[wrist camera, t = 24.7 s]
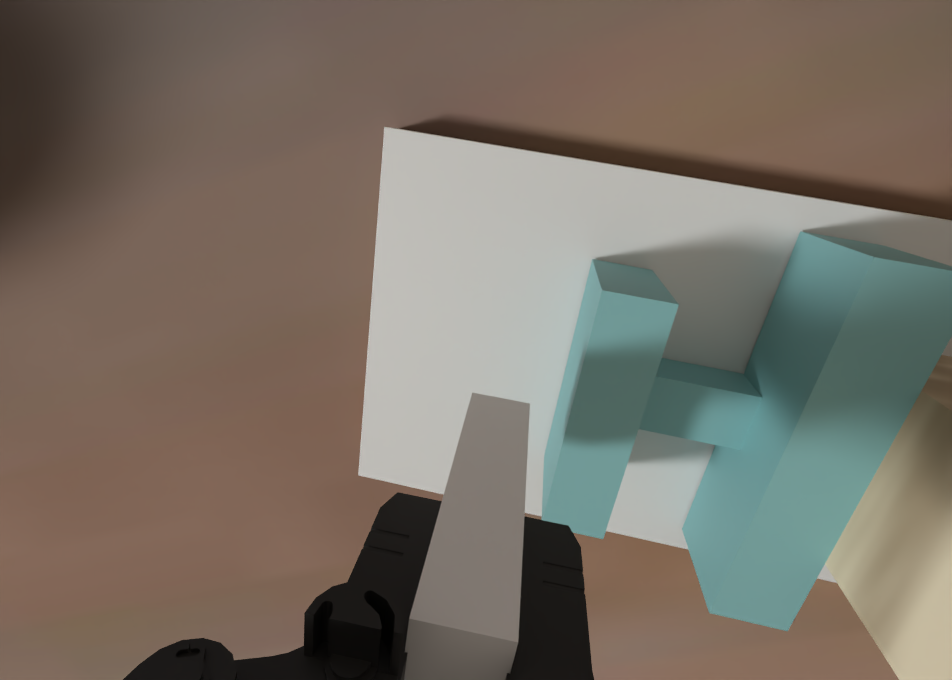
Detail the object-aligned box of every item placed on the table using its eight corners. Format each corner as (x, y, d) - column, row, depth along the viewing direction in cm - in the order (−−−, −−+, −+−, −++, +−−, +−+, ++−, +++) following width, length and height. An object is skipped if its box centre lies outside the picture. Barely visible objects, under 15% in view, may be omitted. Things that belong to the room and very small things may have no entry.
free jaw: (534, 495, 21) (529, 570, 17) (607, 198, 16) (621, 213, 12) (744, 542, 20) (787, 631, 16) (883, 245, 15) (985, 276, 12)
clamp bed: (370, 455, 23) (317, 543, 18) (397, 128, 18) (334, 121, 13) (942, 581, 21) (1065, 720, 16) (1167, 256, 16) (1459, 309, 11)
